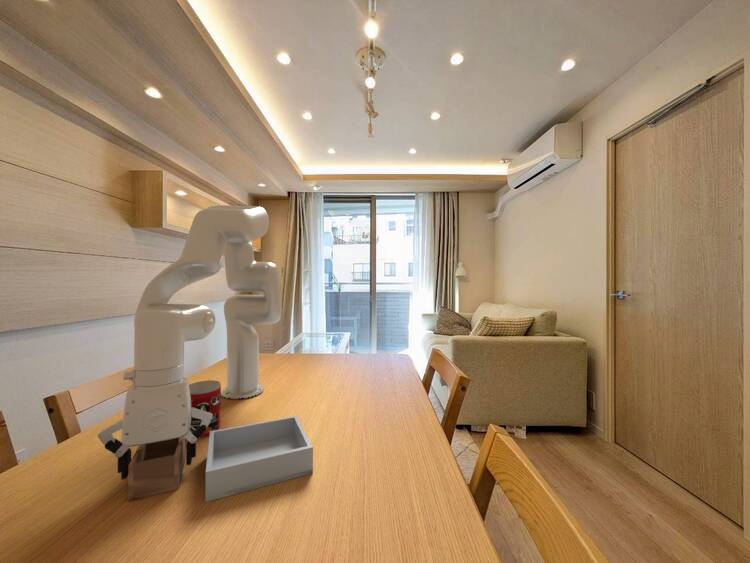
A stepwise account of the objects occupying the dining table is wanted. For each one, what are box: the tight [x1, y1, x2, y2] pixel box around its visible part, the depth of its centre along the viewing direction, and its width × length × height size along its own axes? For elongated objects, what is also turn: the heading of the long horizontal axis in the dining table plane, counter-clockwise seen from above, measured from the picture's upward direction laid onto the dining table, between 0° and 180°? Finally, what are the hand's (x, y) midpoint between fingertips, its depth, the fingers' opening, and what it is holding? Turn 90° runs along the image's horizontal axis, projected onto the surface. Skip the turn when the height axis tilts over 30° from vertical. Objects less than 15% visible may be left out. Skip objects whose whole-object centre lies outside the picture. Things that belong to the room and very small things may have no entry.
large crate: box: [205, 415, 314, 503], centre depth 62 cm, size 15×18×5 cm
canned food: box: [189, 379, 222, 439], centre depth 75 cm, size 8×8×11 cm
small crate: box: [127, 437, 186, 502], centre depth 57 cm, size 10×7×6 cm
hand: (159, 468), depth 57 cm, fingers open, 9 cm apart
